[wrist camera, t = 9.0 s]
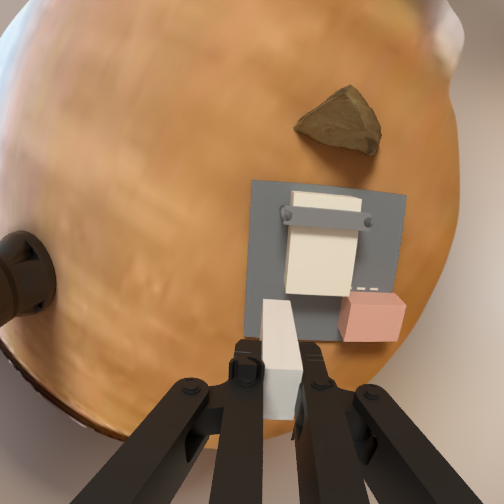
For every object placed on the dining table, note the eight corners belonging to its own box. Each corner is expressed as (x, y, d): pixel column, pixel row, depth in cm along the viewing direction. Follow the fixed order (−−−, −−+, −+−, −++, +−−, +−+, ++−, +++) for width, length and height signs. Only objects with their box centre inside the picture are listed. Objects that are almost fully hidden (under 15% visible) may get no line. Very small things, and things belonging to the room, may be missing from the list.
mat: (244, 333, 45) (243, 336, 44) (252, 180, 39) (251, 180, 38) (378, 337, 44) (380, 341, 43) (403, 195, 39) (406, 195, 38)
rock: (403, 135, 35) (358, 72, 32) (403, 162, 29) (348, 85, 26) (341, 169, 42) (298, 115, 40) (328, 200, 37) (276, 137, 34)
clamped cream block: (274, 280, 41) (274, 296, 36) (280, 189, 39) (283, 192, 33) (350, 284, 41) (361, 300, 36) (361, 197, 38) (375, 201, 33)
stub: (337, 326, 43) (343, 341, 38) (343, 291, 41) (351, 304, 37) (386, 326, 42) (397, 341, 38) (394, 293, 41) (406, 305, 37)
